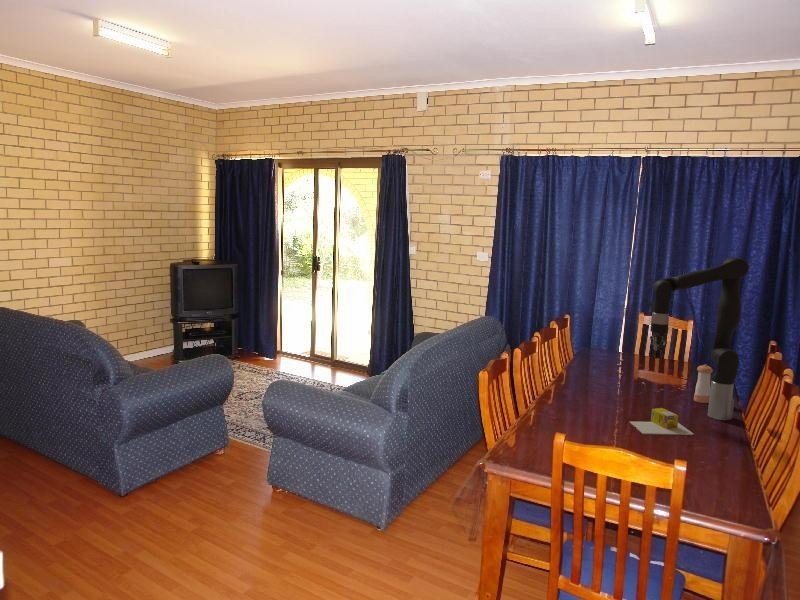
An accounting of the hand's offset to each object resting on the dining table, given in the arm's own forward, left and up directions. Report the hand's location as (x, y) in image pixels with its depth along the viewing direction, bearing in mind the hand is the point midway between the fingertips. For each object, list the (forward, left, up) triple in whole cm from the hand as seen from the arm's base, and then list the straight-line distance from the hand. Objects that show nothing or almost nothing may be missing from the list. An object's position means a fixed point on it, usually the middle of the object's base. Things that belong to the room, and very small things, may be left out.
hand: (656, 357), depth 272 cm
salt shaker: (-33, -16, -26) cm, 46 cm away
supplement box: (+5, +14, -23) cm, 27 cm away
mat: (+7, +24, -26) cm, 36 cm away
